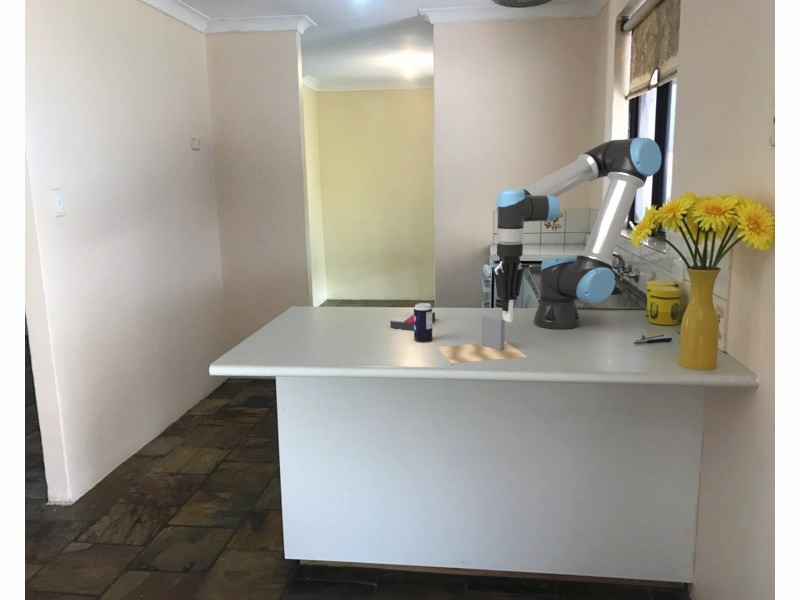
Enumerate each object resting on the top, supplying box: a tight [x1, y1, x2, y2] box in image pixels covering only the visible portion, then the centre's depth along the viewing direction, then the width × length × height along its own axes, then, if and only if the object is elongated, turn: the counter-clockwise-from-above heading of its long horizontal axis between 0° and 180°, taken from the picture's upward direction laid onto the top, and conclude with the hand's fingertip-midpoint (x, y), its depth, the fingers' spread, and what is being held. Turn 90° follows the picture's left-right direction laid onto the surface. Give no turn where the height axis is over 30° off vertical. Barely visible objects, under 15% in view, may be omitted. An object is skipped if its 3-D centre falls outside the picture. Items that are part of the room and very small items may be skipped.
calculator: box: [390, 309, 436, 332], centre depth 204 cm, size 11×4×15 cm
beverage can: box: [413, 302, 433, 344], centre depth 182 cm, size 6×6×12 cm
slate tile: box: [481, 315, 506, 351], centre depth 173 cm, size 2×7×9 cm, turn 42°
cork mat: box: [436, 341, 528, 366], centre depth 170 cm, size 22×16×1 cm
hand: (507, 320), depth 177 cm, fingers closed
